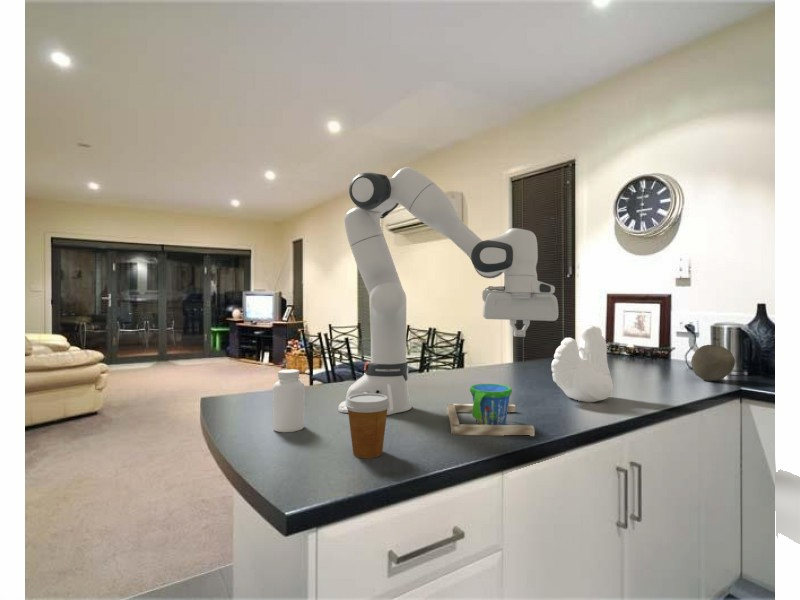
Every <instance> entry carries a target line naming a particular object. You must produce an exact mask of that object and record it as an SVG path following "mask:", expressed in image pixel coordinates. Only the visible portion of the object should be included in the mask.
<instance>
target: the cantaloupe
mask: <svg viewBox="0 0 800 600" xmlns="http://www.w3.org/2000/svg"><path fill="white" fill-rule="evenodd" d="M690 362H691V364H690V365H691V367H692V371H693V373H694V374H695V375H696V377H698V378H699V379H702V380H704V381H706V382H716V381H720V380H722V379H724V378H726V377H727V376H728V375H729V374H731V373H732V371H733V370H734V368H735V365H736V359H735V357H734V354H733V353H732V352H731V351H730V350H729V349H727V348H726V347H724V346H722V345H717V344H705V345H702V346H700V347H699V348H697V349H696V350H695V352H694V353H693V355H692V357H691V361H690Z"/></svg>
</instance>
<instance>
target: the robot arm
mask: <svg viewBox="0 0 800 600" xmlns="http://www.w3.org/2000/svg"><path fill="white" fill-rule="evenodd" d="M348 188H349V189H348V193H349V197H350V199H351V201H352V202H353V204H355V207H353V208H351V209H349V210H348V211H347V212H346V213H345V216H344V218H343V221H344V229H345V233H346V237H347V240H348V244H349V247H350V250H351V252H352V255H353V257H354V262H355V263H356V266H357V269H358V273H359V274H360V277H361V279H362V281H363V284H364V286H365V289H366V291H367V294H368V297H369V301H368V303H369V305H368V307H369V328H370V361H366V362H365V363H364V365H363V367H364V369H363V371H364V372H363V373H364V374H363V375H362V376H360V378H358V379H357V380H356V381H355V382H353V383H352V384H351V385H350V386H349V387H348V390H347V392H346V395H345V400H343V401H342V402H339V405H338V408H337V409H338V411H339V412H340V413H344V414H345V413H346V414H347V413H348V409H347V406H346V403H347V400H348V397H350V396H352V395H357V394H381V395H385V396H387V398H388V402H389V403H390V404H389V406H388V409H387V416H391V415H393V414H396V413H397V414H398V413H402V412H407V411H409V410H411V409H412V408H413V406H412V404H411V400H410V394H409V387H408V379H409V365H408V361H407V295H406V292H405V290H404V288H403V286H402V282H401V280H400V277H399V274H398V271H397V268H396V265H395V263H394V259H393V257H392V255H391V251H390V249H389V247H388V243H387V240H386V238H385V235H384V232H383V230H382V227H381V223H380V221H381V220H380V219H384V218H386V217H387V216H388V215H389V214H390V213H392V211H394V210H395V209H397V208H398V206H399V205H401V206H402V207H403V208H404V209H405V210H407V211H408V212H409V213H410V214H411V216H413V217H414V218H415V219H417V220H419V221H420V222H422V223H423V224H424V225H425V226H427V227H430V228H431V229H433V230H435V231H437V232H438V233H440V234H442V235H443V236H445V237H447V238H448V239H449V240H450V241H451V242H452V243H453V244H455V245H456V246H457V247H458V248H459V249H460V250H461V251H462V252H463V253H464V254H466V255H467V257H468V258H469V259H470V261H471V263H472V266H473V268H474V270H475V272H476V273H477V274H478V275H479V276H481V277H483V278H484V279H495V278H498V277H500V276H501V275H502V274H504V275H503V276H504V277H503V285H502V286H493V285H491V286H487V287H486V288H484V289H483V291H482V297H481V298H482V301H483V308H482V318H484V319H485V320H503V321H504V320H506V321H508V320H509V325H510V327H511V328H512V330H513V337H519V338H521V337H522V338H523V337H524V338H525V337H526V331H527V330H528V328H529V326H530V324H531V321H545V322H546V321H547V322H549V321H550V322H551V321H553V322H554V321H557V320H558V318H559V304H558V298H557V297H556V295H554V293H555V291H556V287H555V286H554V285H553V284H549V283H546V282H542V281H539V280H538V273H537V264H538V260H539V259H538V258H539V255H538V253H539V252H538V240H537V236H536V235H535V232H533V231H532V230H530V229H527V228H524V227H523V228H522V227H511V228H509V229H507V230H506V231H505V232H503V233H502V234H500V235H497V236H495V237H492V238H489V239H485V240H482V239H481V237H479V235H477V234H476V233H475V232H474V231H473V230H471V229H470V228H469V227H468V226H467V225H466V224H465V223H464V222H463V220H462V219H461V217H460V216H459V215H458V212H457V211H456V209H455V207H454V204H453V203H452V201H451V200H450V198H449V197H448V196H447V194H446V192H444V190H443V189H441V188H440V186H438V185H437V184H436V183H435V182H434V181H432V180H431V179H430V178H429V177H428V176H426V175H425V174H423V173H422V172H420V171H419V170H417V169H415V168H413V167H411V166H405V167H402V168H399V170H397V171H396V172H395V173H394V174H393V175H392V177H388V176H387V175H386V174H382V173H376V172H362V173H359V174H357V175H356V176H355V177H353V178H352V180H351V182H350V184H349V187H348ZM517 321H522V323H523V326H522V328H521V329H518V328H517V326H516V324H517Z"/></svg>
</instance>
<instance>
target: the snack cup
mask: <svg viewBox="0 0 800 600" xmlns="http://www.w3.org/2000/svg"><path fill="white" fill-rule="evenodd" d="M469 391H470V393H471V396H472V401H473V403H472V404H473V409H472V412H471V414H472V418H474V419H475V421H476V425H507V418H508V417H507V416H508V413H507V411H508V405H509V403H510V397H511V395H512V392H513V390H512V388H511V387H510V386H508V385H505V384H499V383H479V384H478V383H477V384H473V385H471V386H470V388H469Z"/></svg>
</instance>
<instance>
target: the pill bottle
mask: <svg viewBox="0 0 800 600" xmlns="http://www.w3.org/2000/svg"><path fill="white" fill-rule="evenodd" d="M277 379H278V380H277V381H276V382H275V383H274V384H273V386H272V387H273V388H272V428H273V430H274V431H275V432H278V433H293V432H298V431H301V430H303V429H304V427H305V406H306V405H305V402H306V401H305V396H306V395H305V389H306V388H305V384H304V382H303V381H302V380H300V370H299V369H293V368H291V369H282V370H278V372H277Z"/></svg>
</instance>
